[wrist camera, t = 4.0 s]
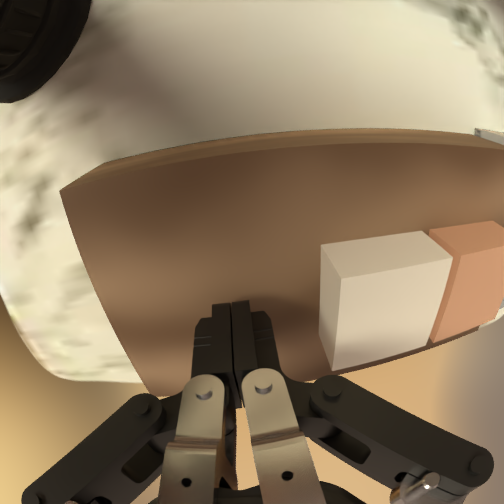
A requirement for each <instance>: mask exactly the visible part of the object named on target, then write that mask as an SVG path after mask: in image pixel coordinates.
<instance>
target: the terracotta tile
mask: <svg viewBox="0 0 504 504" xmlns="http://www.w3.org/2000/svg"><path fill="white" fill-rule="evenodd" d="M429 237H430V238H431V239H432V240H434V241H435V242H436V243H437V244H438V245H439V246H441V247H442V248H443V249H444V250H445V251H446V252H448V253H449V254H450V255H451V256H452V257H453V260H452V264H451V268H450V272H449V276H448V279H447V283H446V287H445V290H444V293H443V297H442V300H441V303H440V306H439V310H438V313H437V316H436V319H435V321H434V324H433V327H432V330H431V333H430V335H429V337H430V339H431V340H432V342H433V343H435V342H437V341H440V340H443V339H446V338H448V337H451V336H454V335H456V334H459V333H462V332H464V331H467V330H469V329H472V328H474V327H476V326H479V325H481V324H483V323H486V322H488V321H490V320H493V319H495V317H496V315H497V312H498V310H499V308H500V305H501V303H502V300H503V298H504V228H503V227H502V226H500V225H499V224H497V223H496V222H494V221H486V222H479V223H472V224H465V225H458V226H451V227H444V228H437V229H430V231H429Z"/></svg>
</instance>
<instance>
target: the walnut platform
mask: <svg viewBox="0 0 504 504" xmlns="http://www.w3.org/2000/svg"><path fill="white" fill-rule="evenodd" d="M59 192H60V195H61V198H62V202H63V205H64V208H65V212H66V215H67V218H68V221H69V224H70V227H71V230H72V233H73V236H74V239H75V241H76V244H77V247H78V250H79V252H80V255H81V257H82V260H83V263H84V265H85V268H86V270H87V273H88V275H89V277H90V280H91V282H92V284H93V287H94V289H95V291H96V294H97V296H98V298H99V300H100V302H101V305H102V307H103V309H104V311H105V313H106V315H107V317H108V319H109V321H110V323H111V325H112V327H113V329H114V331H115V333H116V335H117V337H118V339H119V341H120V343H121V345H122V347H123V348H124V350H125V352H126V354H127V356H128V358H129V359H130V361H131V363H132V365H133V366H134V368H135V370H136V372H137V373H138V375H139V377H140V378H141V380H142V382H143V383H144V385H145V386H146V388H147V390H148V391H149V393H150V394H152V395H154V396H156V397H159V396H173V395H176V394H178V393H180V392H181V391H182V390H183V389H184V386H185V384H186V383H187V382H188V381H189V380H190V379H191V369H192V357H193V347H194V346H193V345H194V334H195V327H196V325H197V324H198V322H199V320H200V319H201V318H207V317H212V304H219V303H228V302H230V303H231V302H235V301H243V300H249V303H250V310H251V312H256V311H263V310H264V311H265V312H266V314H267V315H268V316H269V317H270V318H271V322H272V327H273V332H274V338H275V342H276V347H277V352H278V357H279V362H280V367H281V370H282V372H283V373H284V374H285V375H286V376H287V377H289V378H290V379H292V380H295V381H298V382H305V381H311V380H316V379H319V378H321V377H323V376H326V375H340V374H344V373H348V372H352V371H357V370H360V369H364V368H368V367H371V366H376V365H379V364H383V363H386V362H390V361H393V360H397V359H400V358H403V357H406V356H410V355H412V354H416V353H419V352H421V351H425V350H427V349H430V348H433V347H436V346H439V345H442V344H444V343H447V342H449V341H452V340H455V339H457V338H460V337H462V336H465V335H467V334H470V333H472V332H475V331H477V330H478V328H479V326H480V325H479V326H476V327H474V328H472V329H469V330H467V331H464V332H462V333H459V334H456V335H454V336H451V337H448V338H446V339H443V340H440V341H437V342H435V343H433V342H432V340H431V339H430V337H429V338H428V341H427V343H426V346H423V347H420V348H417V349H414V350H410V351H407V352H404V353H401V354H397V355H394V356H390V357H387V358H383V359H380V360H376V361H372V362H369V363H365V364H361V365H357V366H353V367H348V368H344V369H340V370H335V371H332V370H331V367H330V364H329V361H328V359H327V356H326V353H325V350H324V347H323V345H322V342H321V339H320V336H319V311H320V275H321V245H322V244H329V243H337V242H344V241H351V240H358V239H365V238H372V237H380V236H387V235H394V234H401V233H408V232H415V231H423V232H424V233H425V234H426V235H428V236H429V231H430V229H437V228H444V227H451V226H458V225H465V224H472V223H479V222H486V221H494V222H496V223H497V224H499V225H500V226H502V227H503V228H504V145H502V144H499V143H496V142H493V141H490V140H487V139H484V138H481V137H478V136H474V135H470V134H462V133H452V132H441V131H428V130H410V129H323V130H305V131H291V132H279V133H268V134H258V135H249V136H241V137H233V138H226V139H219V140H212V141H206V142H200V143H194V144H188V145H183V146H177V147H172V148H167V149H162V150H157V151H152V152H148V153H143V154H139V155H135V156H130V157H126V158H122V159H118V160H114V161H110V162H106V163H103V164H102V165H100V166H98V167H96V168H95V169H93V170H91V171H90V172H88V173H86V174H85V175H83V176H81V177H80V178H78V179H77V180H75V181H73V182H72V183H70V184H69V185H67V186H66V187H64V188H63V189H61V190H60V191H59Z"/></svg>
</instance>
